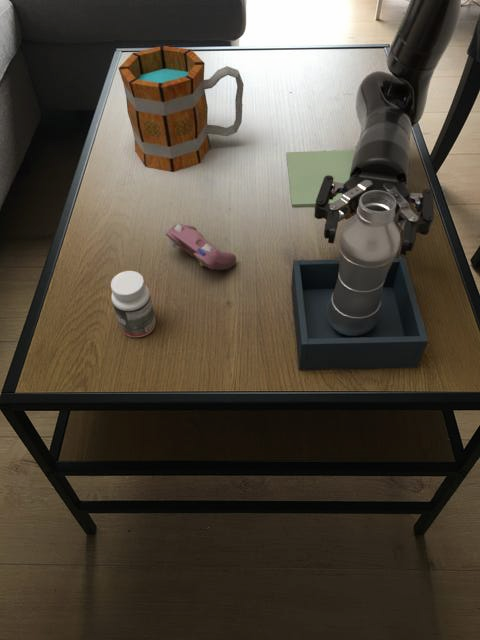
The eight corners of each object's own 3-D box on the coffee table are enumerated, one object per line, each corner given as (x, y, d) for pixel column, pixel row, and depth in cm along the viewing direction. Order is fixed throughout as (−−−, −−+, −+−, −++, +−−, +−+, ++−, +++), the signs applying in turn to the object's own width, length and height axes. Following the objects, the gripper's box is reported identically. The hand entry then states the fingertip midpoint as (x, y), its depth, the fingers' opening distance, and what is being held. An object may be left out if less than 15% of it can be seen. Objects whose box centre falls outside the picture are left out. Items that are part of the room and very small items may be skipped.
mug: (133, 174, 92) (115, 90, 80) (136, 129, 100) (121, 48, 89) (247, 166, 92) (246, 82, 81) (242, 123, 101) (240, 41, 89)
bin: (396, 285, 75) (404, 257, 70) (417, 367, 66) (428, 341, 62) (291, 288, 75) (293, 260, 71) (298, 370, 66) (301, 344, 62)
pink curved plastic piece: (176, 252, 82) (154, 232, 76) (195, 229, 82) (174, 206, 76) (221, 285, 78) (202, 266, 71) (241, 260, 78) (223, 239, 71)
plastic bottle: (317, 311, 72) (334, 189, 56) (363, 298, 73) (393, 175, 57) (337, 348, 68) (360, 228, 52) (385, 335, 69) (423, 213, 53)
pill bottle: (117, 316, 73) (103, 274, 66) (151, 306, 73) (140, 263, 67) (125, 343, 70) (111, 301, 63) (160, 332, 71) (150, 290, 64)
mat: (377, 152, 94) (378, 149, 94) (392, 204, 85) (393, 201, 85) (286, 154, 94) (286, 151, 94) (291, 207, 86) (292, 204, 85)
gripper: (331, 132, 72) (310, 210, 62) (442, 145, 69) (438, 229, 59) (325, 179, 77) (305, 256, 68) (427, 192, 75) (421, 275, 65)
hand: (367, 243), depth 64 cm, fingers open, 8 cm apart
